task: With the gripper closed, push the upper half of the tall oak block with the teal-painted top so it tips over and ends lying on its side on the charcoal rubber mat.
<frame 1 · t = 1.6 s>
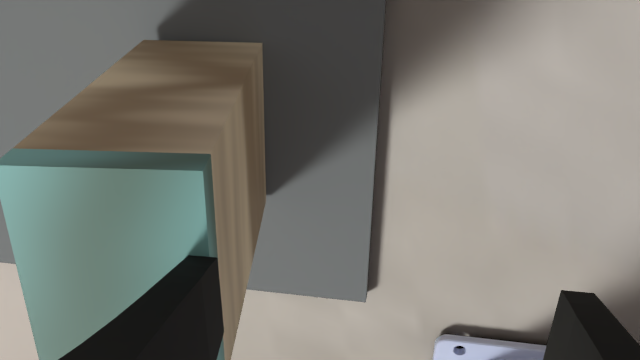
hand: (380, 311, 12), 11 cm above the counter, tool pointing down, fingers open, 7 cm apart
rubber mat: (138, 109, 23), on the counter
oak block: (208, 125, 22), point 1 cm above the counter, tilted 7°, touching gripper, rubber mat
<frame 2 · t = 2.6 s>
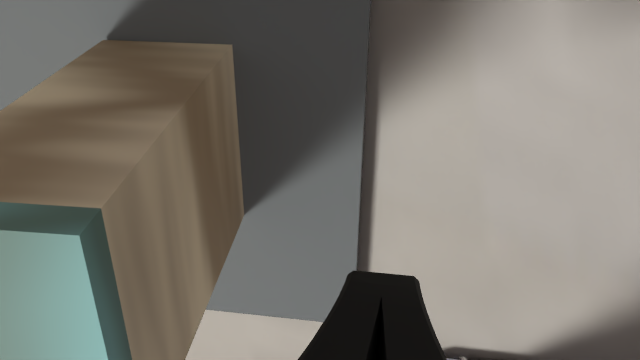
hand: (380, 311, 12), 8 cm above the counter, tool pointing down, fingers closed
rubber mat: (98, 118, 21), on the counter
oak block: (178, 133, 20), point 1 cm above the counter, touching rubber mat
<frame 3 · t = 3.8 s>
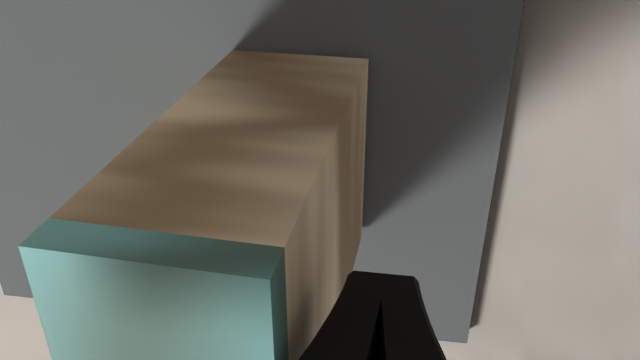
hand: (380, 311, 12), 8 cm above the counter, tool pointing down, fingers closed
rubber mat: (213, 131, 20), on the counter
oak block: (301, 148, 19), point 1 cm above the counter, touching gripper, rubber mat
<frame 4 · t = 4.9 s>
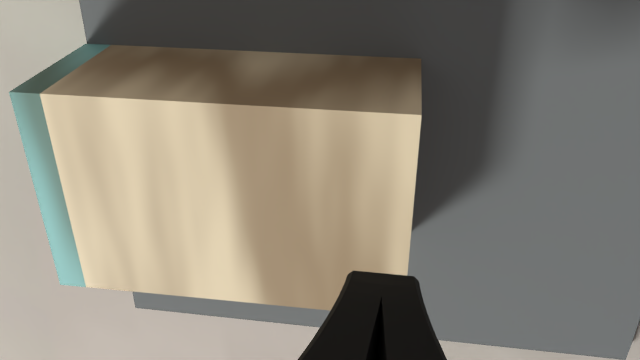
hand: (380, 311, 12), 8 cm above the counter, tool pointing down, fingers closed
rubber mat: (381, 141, 19), on the counter
oak block: (412, 186, 17), point 3 cm above the counter, tilted 90°, touching rubber mat
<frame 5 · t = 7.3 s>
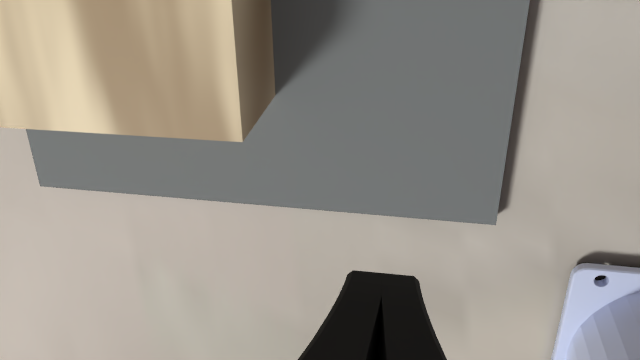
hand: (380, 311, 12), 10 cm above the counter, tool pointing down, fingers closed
rubber mat: (246, 1, 20), on the counter
oak block: (254, 21, 18), point 3 cm above the counter, tilted 90°, touching rubber mat
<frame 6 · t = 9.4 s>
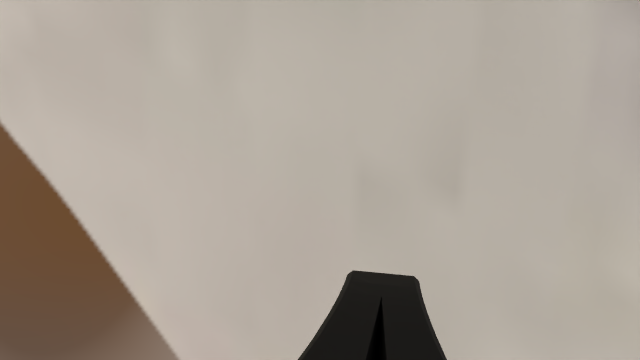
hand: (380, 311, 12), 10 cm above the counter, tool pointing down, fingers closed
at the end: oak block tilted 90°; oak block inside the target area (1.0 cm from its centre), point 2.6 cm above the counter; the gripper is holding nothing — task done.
